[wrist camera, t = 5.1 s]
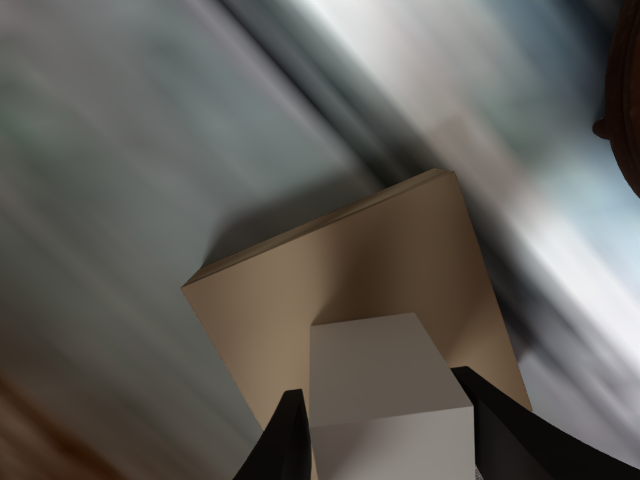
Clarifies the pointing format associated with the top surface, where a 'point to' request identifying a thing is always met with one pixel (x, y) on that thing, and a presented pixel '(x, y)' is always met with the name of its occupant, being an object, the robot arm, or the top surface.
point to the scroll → (624, 95)
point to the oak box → (356, 290)
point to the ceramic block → (386, 404)
